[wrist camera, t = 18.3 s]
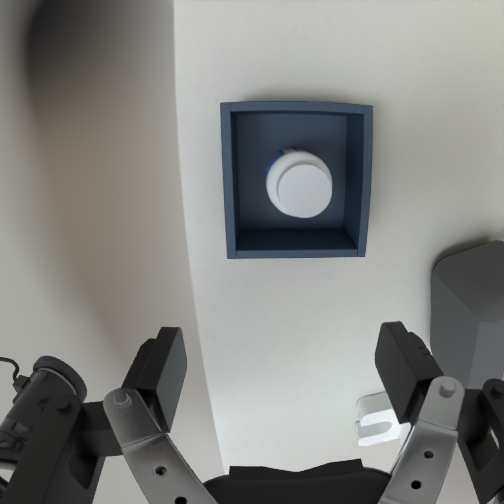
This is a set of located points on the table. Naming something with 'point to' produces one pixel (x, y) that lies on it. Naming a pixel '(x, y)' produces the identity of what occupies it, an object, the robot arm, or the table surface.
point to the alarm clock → (469, 315)
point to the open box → (315, 142)
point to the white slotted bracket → (378, 421)
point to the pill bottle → (298, 182)
